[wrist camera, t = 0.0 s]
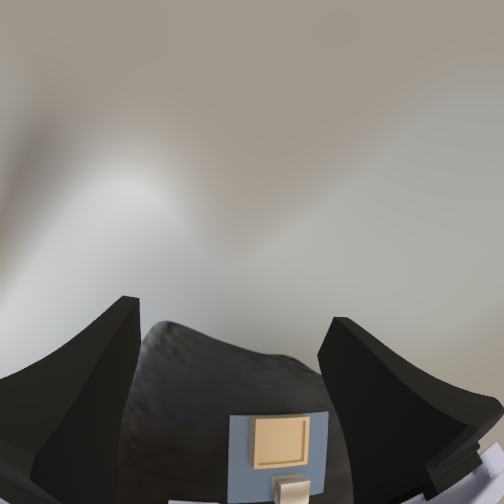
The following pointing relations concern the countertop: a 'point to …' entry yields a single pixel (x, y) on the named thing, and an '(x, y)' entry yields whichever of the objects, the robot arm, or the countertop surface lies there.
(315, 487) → the board
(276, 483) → the cream block
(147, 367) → the countertop surface
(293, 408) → the countertop surface
